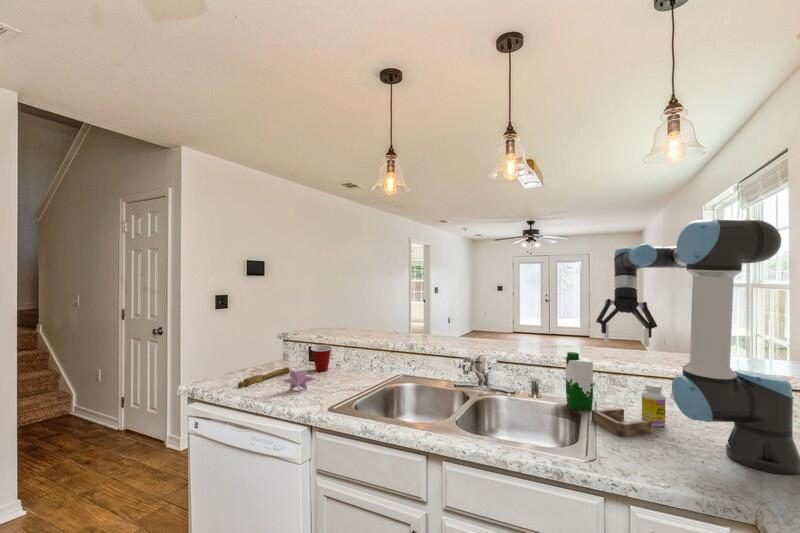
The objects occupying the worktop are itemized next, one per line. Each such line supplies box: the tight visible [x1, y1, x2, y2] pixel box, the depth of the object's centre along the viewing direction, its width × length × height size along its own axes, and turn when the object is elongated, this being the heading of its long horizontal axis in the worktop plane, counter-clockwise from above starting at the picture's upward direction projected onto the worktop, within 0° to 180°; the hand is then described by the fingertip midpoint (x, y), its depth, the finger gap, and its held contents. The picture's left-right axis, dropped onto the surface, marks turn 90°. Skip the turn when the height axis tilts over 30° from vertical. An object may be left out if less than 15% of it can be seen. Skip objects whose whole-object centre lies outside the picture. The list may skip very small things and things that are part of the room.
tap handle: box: [237, 366, 291, 388], centre depth 186 cm, size 3×3×30 cm
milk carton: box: [565, 351, 594, 411], centre depth 148 cm, size 9×9×20 cm
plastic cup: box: [310, 344, 333, 373], centre depth 202 cm, size 11×11×12 cm
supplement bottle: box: [641, 382, 666, 428], centre depth 133 cm, size 7×7×13 cm
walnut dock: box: [591, 407, 653, 437], centre depth 130 cm, size 12×13×4 cm
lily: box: [282, 369, 316, 390], centre depth 167 cm, size 12×12×10 cm
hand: (626, 344), depth 147 cm, fingers open, 13 cm apart
